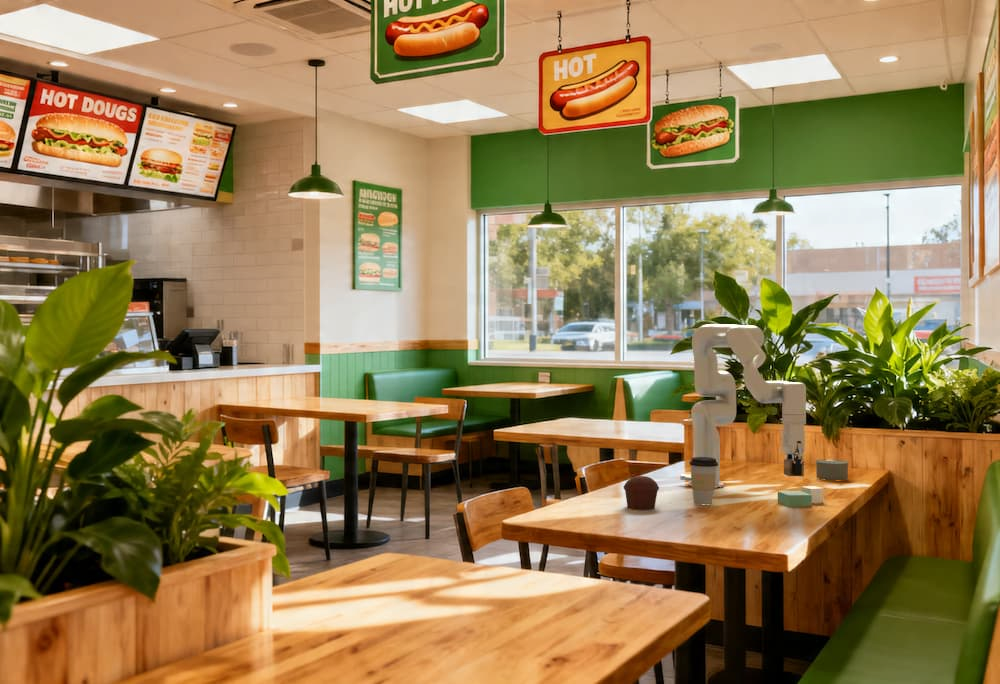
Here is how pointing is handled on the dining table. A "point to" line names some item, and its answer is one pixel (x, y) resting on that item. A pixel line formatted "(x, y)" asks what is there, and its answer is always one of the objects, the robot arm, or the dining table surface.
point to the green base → (794, 498)
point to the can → (832, 469)
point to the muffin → (641, 493)
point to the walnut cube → (790, 467)
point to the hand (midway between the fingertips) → (793, 473)
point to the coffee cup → (703, 479)
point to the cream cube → (814, 493)
